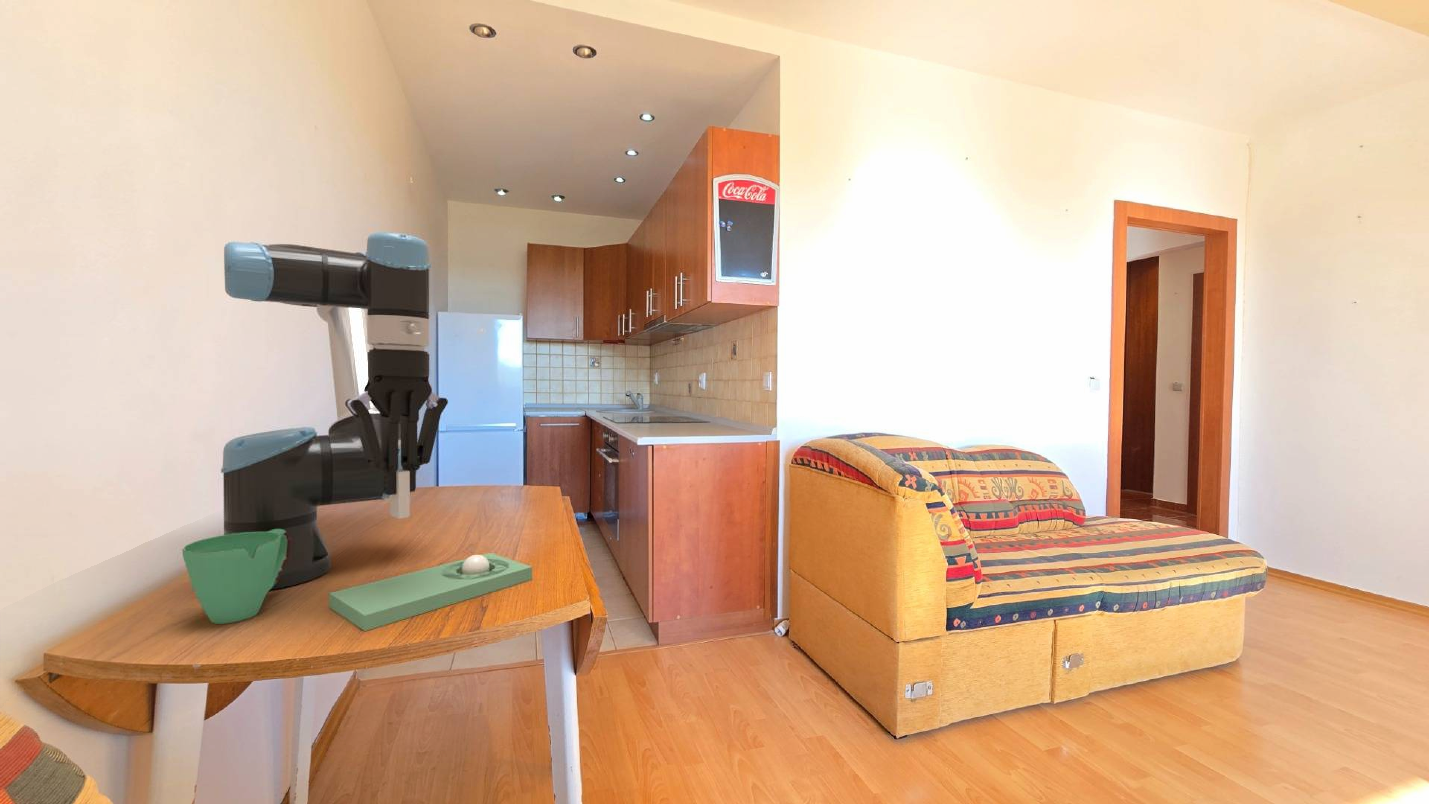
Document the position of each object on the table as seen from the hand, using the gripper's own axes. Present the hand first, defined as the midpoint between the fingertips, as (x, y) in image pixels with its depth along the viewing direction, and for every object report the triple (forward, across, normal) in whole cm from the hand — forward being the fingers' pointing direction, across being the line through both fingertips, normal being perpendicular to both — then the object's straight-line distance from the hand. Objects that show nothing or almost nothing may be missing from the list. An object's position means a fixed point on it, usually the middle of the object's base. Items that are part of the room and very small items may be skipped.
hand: (399, 516), depth 79 cm
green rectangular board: (+12, +5, -1) cm, 13 cm away
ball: (+10, +11, -1) cm, 15 cm away
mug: (+13, -14, +13) cm, 23 cm away
